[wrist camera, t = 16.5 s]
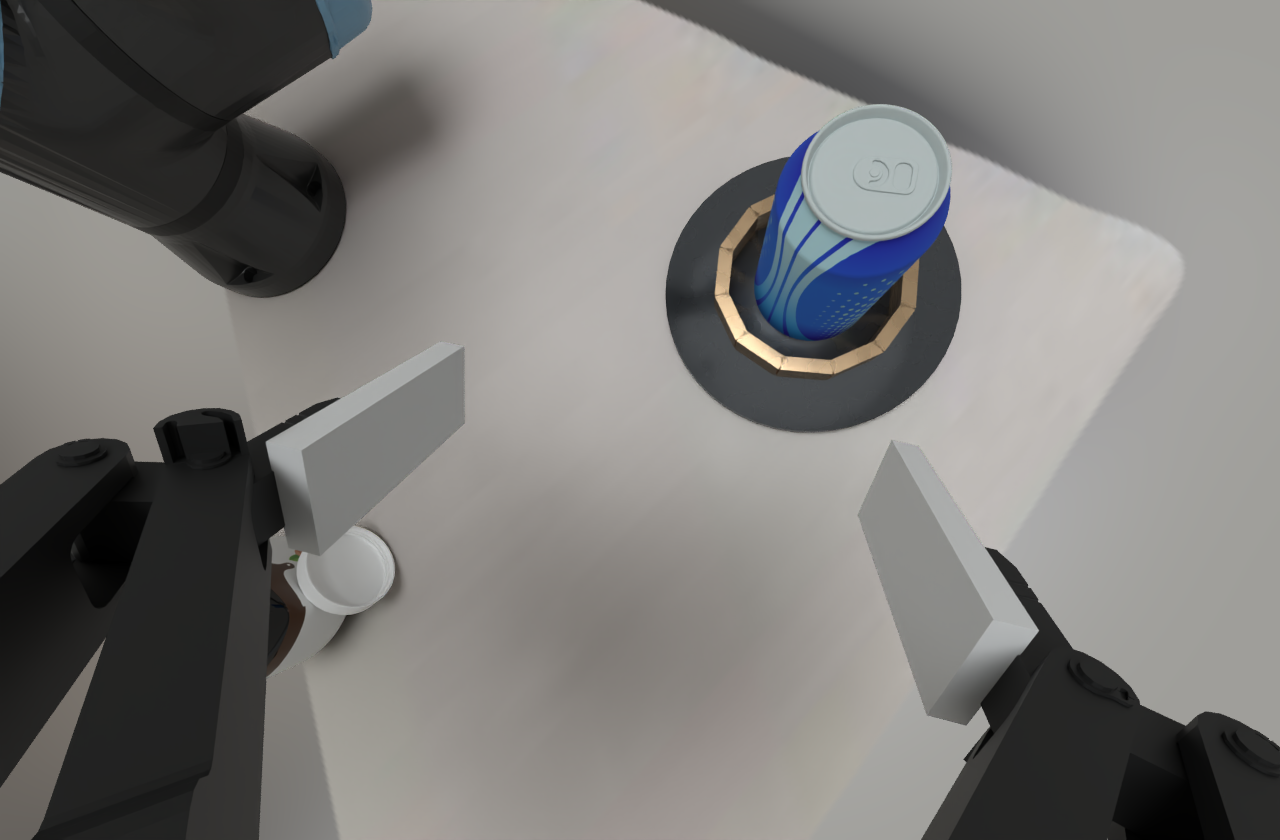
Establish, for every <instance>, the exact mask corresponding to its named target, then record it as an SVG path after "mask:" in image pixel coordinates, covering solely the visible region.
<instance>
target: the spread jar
mask: <svg viewBox="0 0 1280 840" xmlns="http://www.w3.org/2000/svg"><path fill="white" fill-rule="evenodd" d="M269 539H270V543H271V547H272V567H271V589H270V610H269V631H268V653H267V674H266V679H267V678H269V677H272V676H274V675H277V674H279V673H281V672H283V671H285V670H287V669H289V668H292V667H294V666H296V665H298V664H300V663H302V662H304V661H306V660H308V659H309V658H311V657H312V656H314V655H315V654H316V653H318V652H319V651H320V650H321V649H322V648H323V647H324V646H325V645H326V644H327V643H328V642H329V641H330V640H331V639H332V638H333V636H334V635H335V634H336V632H337V631H338V629H339V628H340V626H341V625H342V623H343V621H344V619H345V617H346V615H352V614H356V613H360V612H362V611H364V610H366V609H368V608H369V607H371V606H372V605H373V604H375V603H376V602H377V601H379V600H380V599H381V598H383V597H384V596H385V595H386V593H387V592H388V591H389V589H390V587H391V586H392V583H393V580H394V577H395V563H394V559H393V556H392V553H391V551H390V550H389V548H388V546H387V545H386V544H385V542H384V541H383V540H382V539H381V538H380V537H378V536H377V535H376V534H374V533H373V532H371V531H369V530H367V529H365V528H362V527H358V526H352V527H351V528H350V529H349V530H348V531H347V532H346V533H345V534H344V535H343V536H342V537H341V538H339V539H338V540H337V541H336V542H335V543H334V544H333V545H332V546H331V547H330V548H329V549H328V550H326V551H325V552H324V553H323V554H322V555H321V556H317V555H314V554H310V553H306V552H302V551H298V550H294V549H291V548H288V544H287V539H286V536H272V537H271V538H269Z"/></svg>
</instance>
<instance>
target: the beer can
mask: <svg viewBox="0 0 1280 840" xmlns="http://www.w3.org/2000/svg"><path fill="white" fill-rule="evenodd" d="M951 175H952V163H951V156H950V152H949V149H948V146H947V144H946V142H945V140H944V139H943V137H942V135H941V134H940V133H939V131H938V130H937V129H936V128H935V127H934V126H933V124H931V123H930V122H929V121H928V120H927V119H925V118H924V117H922V116H921V115H919V114H917V113H915V112H913V111H911V110H909V109H906V108H903V107H898V106H894V105H886V104H874V105H865V106H861V107H857V108H854V109H851V110H848V111H846V112H844V113H842V114H840V115H838V116H837V117H835V118H833V119H832V120H831V121H829V122H828V123H827V124H826V125H825V126H823V127H822V128H821V129H820V130H819V131H818V132H816V133H815V134H813V135H812V136H810V137H809V138H808V139H807V140H805V141H804V142H803V143H802V144H801V145H800V146H799V147H798V148H797V149H796V150H795V151H794V153H793V154H792V155H791V157H790V158H789V159H788V161H787V163H786V164H785V166H784V168H783V170H782V173H781V175H780V178H779V180H778V184H777V188H776V192H775V196H774V200H773V204H772V209H771V213H770V217H769V221H768V225H767V229H766V233H765V238H764V242H763V246H762V250H761V254H760V258H759V263H758V267H757V271H756V275H755V281H754V294H755V299H756V303H757V305H758V308H759V310H760V312H761V314H762V315H763V317H764V318H765V320H766V321H767V322H768V323H769V324H770V325H771V326H772V327H773V328H775V329H776V330H777V331H779V332H780V333H782V334H784V335H786V336H788V337H791V338H794V339H798V340H804V341H819V340H825V339H829V338H832V337H835V336H837V335H839V334H841V333H843V332H845V331H846V330H848V329H849V328H850V327H851V326H853V325H854V324H855V323H856V322H857V321H858V320H859V319H860V318H861V317H862V316H863V315H864V314H865V313H866V312H867V311H868V310H869V309H870V308H871V307H872V306H873V305H874V304H875V303H876V302H877V301H878V300H879V299H880V298H881V297H882V296H883V295H884V294H885V293H886V291H887V290H888V289H889V288H890V287H891V286H892V285H893V284H894V283H895V282H896V281H897V280H898V279H899V278H900V277H901V276H902V275H903V274H904V273H905V272H906V271H907V270H908V269H909V268H910V267H911V266H912V265H913V264H914V263H915V262H916V261H917V260H918V259H919V258H920V257H921V256H922V255H923V254H924V253H925V252H926V251H927V250H928V249H929V248H930V247H931V245H932V244H933V243H934V241H935V240H936V238H937V237H938V235H939V233H940V232H941V230H942V228H943V226H944V224H945V221H946V218H947V215H948V210H949V205H950V182H951Z"/></svg>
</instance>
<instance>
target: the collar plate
mask: <svg viewBox="0 0 1280 840" xmlns="http://www.w3.org/2000/svg"><path fill="white" fill-rule="evenodd" d="M789 158H790V157H786V158H781V159H777V160H774V161H770V162H767V163H764V164H761V165H759V166H756V167H754V168H751V169H749V170H747V171H745V172H743V173H741V174H740V175H738V176H736V177H734V178H732V179H731V180H729V181H728V182H727V183H725V184H724V185H723V186H721V187H720V188H718V189H717V190H716V191H715V192H714V193H713V194H712V195H711V196H709V197H708V198H707V199H706V200H705V201H704V202H703V203H702V204H701V206H700V207H699V208H698V209H697V210H696V212H695V213H694V214H693V215H692V217H691V218H690V220H689V221H688V223H687V224H686V226H685V227H684V229H683V231H682V233H681V235H680V237H679V239H678V241H677V243H676V245H675V248H674V251H673V254H672V257H671V260H670V264H669V269H668V275H667V280H666V308H667V317H668V321H669V325H670V330H671V334H672V337H673V340H674V342H675V345H676V348H677V350H678V353H679V355H680V356H681V358H682V360H683V362H684V364H685V366H686V367H687V369H688V370H689V372H690V373H691V374H692V376H693V377H694V378H695V380H696V381H697V382H698V383H699V384H700V385H701V387H702V388H703V389H704V390H705V391H706V392H707V393H708V394H709V395H710V396H712V397H713V398H714V399H715V400H717V401H718V402H719V403H720V404H722V405H723V406H724V407H726V408H728V409H729V410H731V411H732V412H734V413H736V414H737V415H739V416H741V417H744V418H746V419H748V420H750V421H752V422H755V423H757V424H761V425H764V426H767V427H771V428H774V429H780V430H786V431H792V432H823V431H833V430H838V429H842V428H847V427H851V426H854V425H857V424H860V423H863V422H866V421H868V420H871V419H874V418H876V417H878V416H880V415H882V414H884V413H886V412H888V411H890V410H892V409H893V408H894V407H896V406H897V405H899V404H900V403H902V402H903V401H905V400H906V399H908V398H909V397H910V396H911V395H912V394H913V393H914V392H915V391H917V390H918V389H919V388H920V387H921V386H922V385H923V384H924V383H925V382H926V380H927V379H928V378H929V377H930V376H931V374H932V373H933V372H934V371H935V370H936V368H937V366H938V365H939V363H940V362H941V360H942V359H943V357H944V355H945V354H946V352H947V349H948V347H949V345H950V343H951V340H952V338H953V336H954V332H955V329H956V325H957V322H958V319H959V312H960V305H961V276H960V270H959V264H958V259H957V256H956V253H955V250H954V246H953V243H952V241H951V239H950V237H949V235H948V233H947V231H946V229H945V227H944V226H943V228H942V230H941V232H940V233H939V235H938V237H937V238H936V240H935V241H934V243H933V244H932V245H931V247H930V248H929V249H928V250H927V251H926V252H925V253H924V254H923V255H922V256H921V257H920V258H919V259H918V260H917V261H916V262H915V263H914V264H913V265H912V266H911V267H910V268H909V269H908V270H907V271H906V272H905V273H904V274H903V275H902V276H901V277H900V278H899V279H898V280H897V281H896V282H895V283H894V284H893V285H892V286H891V287H890V288H889V289H888V290H887V291H886V293H885V294H884V295H883V296H882V297H881V298H880V299H879V300H878V301H877V302H876V303H875V304H874V305H873V306H872V307H871V308H870V309H869V310H868V311H867V312H866V313H865V314H864V315H863V316H862V317H861V318H860V319H859V320H858V321H857V322H856V323H855V324H854V325H853V326H851V327H850V328H849V329H848V330H846V331H845V332H843V333H841V334H839V335H837V336H835V337H832V338H829V339H825V340H819V341H804V340H798V339H794V338H791V337H788V336H786V335H784V334H782V333H780V332H779V331H777V330H776V329H775V328H773V327H772V326H771V325H770V324H769V323H768V322H767V321H766V320H765V318H764V317H763V315H762V314H761V312H760V310H759V308H758V305H757V303H756V299H755V294H754V281H755V275H756V271H757V267H758V263H759V258H760V254H761V250H762V246H763V242H764V238H765V233H766V229H767V225H768V221H769V217H770V213H771V209H772V204H773V200H774V196H775V192H776V188H777V184H778V180H779V178H780V175H781V173H782V170H783V168H784V166H785V164H786V163H787V161H788V159H789Z"/></svg>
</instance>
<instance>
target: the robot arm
mask: <svg viewBox="0 0 1280 840" xmlns="http://www.w3.org/2000/svg"><path fill="white" fill-rule="evenodd" d="M371 15H372V3H371V0H0V172H2V173H4V174H6V175H9V176H11V177H14V178H16V179H19V180H21V181H23V182H26V183H28V184H30V185H33V186H35V187H38V188H40V189H43V190H45V191H48V192H50V193H52V194H55V195H57V196H59V197H62V198H64V199H67V200H69V201H71V202H74V203H76V204H79V205H81V206H83V207H86V208H88V209H91V210H93V211H96V212H98V213H100V214H103V215H105V216H108V217H110V218H112V219H115V220H117V221H120V222H122V223H124V224H127V225H129V226H132V227H134V228H136V229H139V230H141V231H143V232H146V233H148V234H150V235H152V236H153V237H154V238H156V239H157V240H158V241H159V242H161V243H162V244H163V245H164V246H166V247H167V248H168V249H169V250H171V251H172V252H173V253H174V254H176V255H177V256H178V257H179V258H181V259H182V260H183V261H184V262H186V263H187V264H188V265H189V266H191V267H192V268H193V269H194V270H196V271H197V272H198V273H199V274H201V275H202V276H204V277H205V278H206V279H208V280H210V281H211V282H213V283H215V284H217V285H220V286H222V287H225V288H227V289H230V290H233V291H235V292H238V293H240V294H244V295H247V296H253V297H270V296H276V295H280V294H283V293H286V292H289V291H291V290H293V289H295V288H297V287H299V286H301V285H302V284H304V283H305V282H307V281H308V280H310V279H311V278H312V277H313V276H314V275H315V274H316V273H317V272H318V271H319V270H320V269H321V268H322V267H323V266H324V265H325V263H326V262H327V261H328V259H329V258H330V256H331V255H332V253H333V251H334V250H335V248H336V246H337V243H338V241H339V239H340V236H341V233H342V229H343V225H344V219H345V197H344V191H343V187H342V184H341V181H340V179H339V176H338V174H337V173H336V171H335V169H334V168H333V166H332V165H331V164H330V163H329V161H328V160H327V159H326V158H325V157H323V156H322V155H321V154H320V153H319V152H317V151H316V150H315V149H314V148H313V147H311V146H310V145H309V144H308V143H306V142H305V141H304V140H302V139H301V138H299V137H297V136H296V135H294V134H292V133H290V132H287V131H285V130H283V129H280V128H277V127H275V126H272V125H270V124H267V123H265V122H262V121H260V120H257V119H255V118H252V117H250V116H247V115H245V114H243V113H245V112H246V111H248V110H249V109H251V108H252V107H254V106H256V105H257V104H259V103H260V102H262V101H263V100H265V99H267V98H268V97H270V96H271V95H273V94H274V93H276V92H278V91H279V90H281V89H282V88H284V87H285V86H287V85H289V84H290V83H292V82H293V81H295V80H296V79H298V78H300V77H301V76H303V75H304V74H306V73H307V72H309V71H311V70H312V69H314V68H315V67H317V66H318V65H320V64H322V63H323V62H325V61H326V60H328V59H329V58H332V59H334V58H336V56H337V55H338V54H339V49H341V48H342V47H343V46H345V45H346V44H347V43H349V42H350V41H351V40H353V39H354V38H355V37H357V36H358V35H359V34H361V33H362V32H363V31H365V30H366V28H367V26H368V25H369V23H370V21H371ZM463 424H464V346H462V345H457V344H452V343H448V342H443V341H440V342H438V343H437V344H435V345H433V346H432V347H430V348H428V349H426V350H425V351H423V352H421V353H419V354H418V355H416V356H414V357H412V358H411V359H409V360H407V361H405V362H404V363H402V364H400V365H398V366H397V367H395V368H393V369H391V370H390V371H388V372H386V373H384V374H383V375H381V376H379V377H378V378H376V379H374V380H372V381H371V382H369V383H367V384H365V385H364V386H362V387H360V388H358V389H357V390H355V391H353V392H351V393H350V394H348V395H346V396H344V397H343V398H335V399H331V400H328V401H324V402H321V403H317V404H315V405H313V406H311V407H309V408H308V409H306V410H304V411H302V412H300V413H299V415H295V416H293V417H291V418H289V419H288V420H286V422H285V423H280V424H279V425H277V426H275V427H273V428H271V429H270V430H268V431H266V432H264V433H262V434H261V435H259V436H257V437H255V438H253V439H252V440H250V441H248V442H247V441H246V437H245V432H244V428H243V424H242V420H241V417H240V415H239V414H237V413H235V412H234V411H231V410H226V409H220V408H207V409H206V408H203V409H196V410H189V411H185V412H181V413H178V414H174V415H171V416H169V417H167V418H165V419H164V420H161V421H160V422H158V424H157V425H156V426H155V427H154V428H153V429H154V432H155V435H156V438H157V441H158V444H159V447H160V450H161V453H162V457H163V460H164V463H162V462H134V459H133V456H132V454H131V451H130V448H129V446H128V445H127V443H125V442H122V441H120V440H117V439H104V438H101V439H82V440H78V441H72V442H68V443H65V444H63V445H61V446H58V447H56V448H52V449H49V450H48V451H46V452H44V453H42V454H41V455H39V456H37V457H36V458H34V459H33V460H32V461H30V462H29V463H28V464H27V465H25V466H24V467H23V468H21V469H20V470H19V471H17V472H16V473H15V474H14V475H12V476H11V477H10V478H9V479H7V480H6V481H5V482H3V483H2V484H1V485H0V787H1V786H2V785H3V783H4V782H5V780H6V779H7V778H8V776H9V774H10V773H11V772H12V770H13V769H14V768H15V766H16V765H17V763H18V762H19V760H20V759H21V758H22V756H23V755H24V753H25V752H26V750H27V749H28V748H29V746H30V745H31V743H32V742H33V741H34V739H35V738H36V736H37V735H38V733H39V732H40V731H41V729H42V728H43V726H44V725H45V723H46V722H47V721H48V719H49V718H50V716H51V715H52V713H53V712H54V711H55V709H56V708H57V706H58V705H59V703H60V702H61V700H62V699H63V698H64V696H65V695H66V693H67V692H68V691H69V689H70V688H71V686H72V685H73V683H74V682H75V681H76V679H77V678H78V676H79V675H80V674H81V672H82V671H83V669H84V668H85V667H86V665H87V663H88V662H89V660H90V659H91V658H92V657H93V655H94V654H95V652H96V651H97V649H98V648H99V646H100V645H101V644H102V642H103V641H104V639H105V638H106V640H105V642H104V645H103V648H102V651H101V654H100V657H99V660H98V663H97V666H96V669H95V671H94V675H93V677H92V680H91V683H90V686H89V689H88V692H87V695H86V698H85V701H84V704H83V707H82V709H81V713H80V715H79V718H78V721H77V724H76V727H75V730H74V733H73V736H72V739H71V741H70V744H69V747H68V750H67V754H66V756H65V759H64V762H63V765H62V768H61V771H60V774H59V776H58V779H57V782H56V785H55V788H54V791H53V794H52V797H51V800H50V803H49V806H48V809H47V811H46V814H45V818H44V820H43V822H42V824H41V826H40V829H39V831H38V832H37V834H36V835H35V836H34V837H33V838H32V840H259V823H260V802H261V779H262V759H263V738H264V716H265V695H266V674H267V653H268V631H269V610H270V589H271V567H272V547H271V543H270V539H269V538H271V537H272V536H273V535H274V534H276V533H277V532H278V531H279V530H281V529H282V528H283V527H284V530H285V535H286V539H287V544H288V548H291V549H294V550H298V551H302V552H306V553H310V554H314V555H317V556H321V555H322V554H323V553H324V552H325V551H326V550H328V549H329V548H330V547H331V546H332V545H333V544H334V543H335V542H336V541H337V540H338V539H339V538H341V537H342V536H343V535H344V534H345V533H346V532H347V531H348V530H349V529H350V528H351V527H352V526H354V525H355V524H356V523H357V522H358V521H359V520H360V519H361V518H362V517H363V516H364V515H365V514H367V513H368V512H369V511H370V510H371V509H372V508H373V507H374V506H375V505H376V504H377V503H378V502H380V501H381V500H382V499H383V498H384V497H385V496H386V495H387V494H388V493H389V492H390V491H391V490H393V489H394V488H395V487H396V486H397V485H398V484H399V483H400V482H401V481H402V480H403V479H404V478H406V477H407V476H408V475H409V474H410V473H411V472H412V471H413V470H414V469H415V468H416V467H418V466H419V465H420V464H421V463H422V462H423V461H424V460H425V459H426V458H427V457H428V456H429V455H431V454H432V453H433V452H434V451H435V450H436V449H437V448H438V447H439V446H440V445H441V444H442V443H444V442H445V441H446V440H447V439H448V438H449V437H450V436H451V435H452V434H453V433H454V432H455V431H457V430H458V429H459V428H460V427H461V426H462V425H463ZM858 517H859V520H860V523H861V526H862V528H863V531H864V534H865V537H866V540H867V543H868V546H869V549H870V552H871V555H872V557H873V560H874V563H875V566H876V569H877V572H878V575H879V578H880V581H881V583H882V586H883V589H884V592H885V595H886V598H887V601H888V604H889V607H890V610H891V612H892V615H893V618H894V621H895V624H896V627H897V630H898V633H899V636H900V639H901V641H902V644H903V647H904V650H905V653H906V656H907V659H908V662H909V665H910V668H911V670H912V673H913V676H914V679H915V682H916V685H917V688H918V691H919V694H920V697H921V699H922V702H923V705H924V708H925V711H926V714H927V715H928V716H932V717H936V718H940V719H943V720H947V721H951V722H955V723H959V724H963V725H967V724H968V723H969V721H970V720H971V719H972V717H973V716H974V715H975V714H976V712H977V711H978V710H979V708H980V707H981V706H982V709H983V711H984V713H985V715H986V717H987V720H988V722H989V724H990V727H989V728H988V729H987V731H986V732H985V733H984V734H983V736H982V737H981V738H980V740H979V741H978V742H977V743H976V744H975V746H974V747H973V748H972V750H971V751H970V752H969V753H968V754H967V756H966V757H965V758H964V760H965V761H966V762H967V763H966V764H965V766H964V768H963V769H962V771H961V773H960V774H959V776H958V778H957V780H956V781H955V783H954V785H953V786H952V788H951V790H950V791H949V793H948V795H947V797H946V798H945V800H944V802H943V804H942V805H941V807H940V809H939V810H938V812H937V814H936V815H935V817H934V819H933V820H932V822H931V824H930V825H929V827H928V829H927V831H926V832H925V834H924V836H923V837H922V839H921V840H1107V838H1108V840H1280V747H1279V746H1278V745H1276V744H1275V743H1274V742H1273V741H1270V740H1268V739H1269V738H1267V737H1266V736H1264V735H1263V734H1261V733H1260V732H1258V731H1256V730H1253V729H1252V728H1250V727H1248V726H1246V725H1245V724H1243V723H1241V722H1239V721H1237V720H1235V719H1232V718H1230V717H1227V716H1225V715H1222V714H1219V713H1212V712H1204V713H1202V714H1199V715H1198V716H1196V717H1195V718H1194V719H1193V720H1192V721H1191V722H1190V723H1189V724H1188V725H1186V726H1185V725H1183V724H1180V723H1178V722H1176V721H1173V720H1172V719H1169V718H1167V717H1165V716H1163V715H1161V714H1159V713H1156V712H1155V711H1152V710H1150V709H1148V708H1146V707H1144V706H1142V705H1140V701H1139V699H1138V698H1137V696H1136V694H1135V693H1134V692H1133V690H1132V688H1131V687H1130V686H1129V685H1128V684H1127V683H1126V682H1125V681H1124V680H1123V679H1122V678H1121V677H1120V676H1119V675H1118V674H1117V673H1115V672H1114V671H1113V670H1111V669H1110V668H1109V667H1107V666H1106V665H1104V664H1103V663H1102V662H1100V661H1098V660H1096V659H1095V658H1093V657H1091V656H1088V655H1087V654H1085V653H1083V652H1080V651H1077V650H1074V649H1073V648H1072V647H1071V645H1070V644H1069V643H1068V641H1067V640H1066V638H1065V637H1064V635H1063V634H1062V633H1061V631H1060V630H1059V628H1058V627H1057V625H1056V624H1055V623H1054V621H1053V620H1052V618H1051V617H1050V615H1049V614H1048V613H1047V611H1046V610H1045V608H1044V607H1043V605H1042V604H1041V603H1039V602H1038V598H1037V597H1036V595H1035V594H1034V592H1033V591H1032V589H1031V588H1028V584H1027V582H1026V581H1025V579H1024V578H1023V577H1022V576H1021V574H1020V572H1019V571H1018V569H1017V568H1016V567H1015V566H1014V565H1013V564H1012V563H1011V562H1009V561H1008V560H1007V559H1006V558H1005V557H1004V556H1003V555H1002V554H1000V553H999V552H998V551H997V550H995V549H990V548H986V547H984V545H983V544H982V542H981V541H980V539H979V538H978V536H977V535H976V533H975V532H974V530H973V529H972V527H971V526H970V524H969V522H968V521H967V519H966V518H965V516H964V515H963V513H962V512H961V510H960V509H959V507H958V506H957V504H956V502H955V501H954V499H953V498H952V496H951V495H950V493H949V492H948V490H947V489H946V487H945V486H944V484H943V483H942V481H941V479H940V478H939V476H938V475H937V473H936V472H935V470H934V469H933V467H932V466H931V464H930V463H929V461H928V460H927V458H926V456H925V455H924V453H923V452H922V450H921V449H920V447H919V446H917V445H912V444H908V443H903V442H899V441H894V440H891V443H890V445H889V447H888V449H887V451H886V454H885V456H884V458H883V460H882V462H881V465H880V467H879V469H878V471H877V474H876V476H875V478H874V480H873V482H872V485H871V487H870V489H869V491H868V493H867V496H866V498H865V500H864V502H863V504H862V507H861V509H860V511H859V513H858Z"/></svg>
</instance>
